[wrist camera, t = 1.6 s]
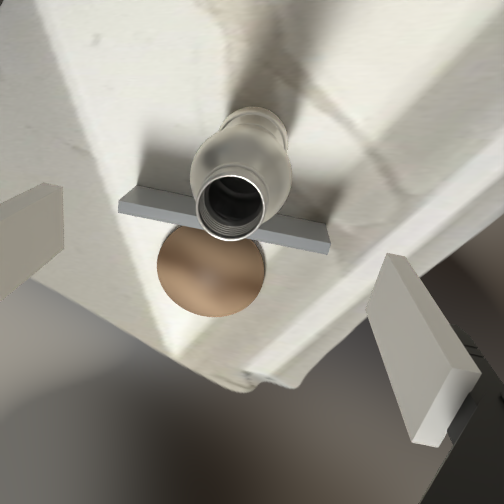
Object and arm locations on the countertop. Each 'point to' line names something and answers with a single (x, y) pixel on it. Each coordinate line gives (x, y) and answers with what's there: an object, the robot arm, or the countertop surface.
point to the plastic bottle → (241, 174)
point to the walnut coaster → (209, 272)
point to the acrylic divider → (184, 213)
